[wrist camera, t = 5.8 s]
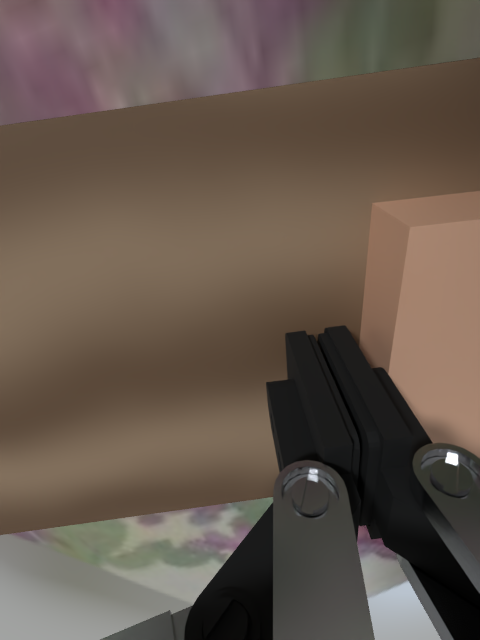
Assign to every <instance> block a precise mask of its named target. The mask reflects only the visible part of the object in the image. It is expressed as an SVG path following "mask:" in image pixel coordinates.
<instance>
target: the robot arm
mask: <svg viewBox="0 0 480 640" xmlns="http://www.w3.org/2000/svg"><path fill="white" fill-rule="evenodd" d="M285 343H286V361H287V378H288V380H280V381H273V382H266V390H267V401H268V409H269V417H270V423H271V429H272V435H273V440H274V446H275V451H276V456H277V462H278V467H279V472H280V473H279V475H278V477H277V478H276V480H275V484H274V490H273V503H272V504H271V506H270V507H269V508H268V509H267V511H266V512H265V513H264V514H263V516H262V517H261V518H260V519H259V521H258V522H257V523H256V525H255V526H254V527H253V528H252V530H251V531H250V532H249V533H248V535H247V536H246V537H245V538H244V540H243V541H242V542H241V543H240V545H239V546H238V547H237V549H236V550H235V551H234V552H233V554H232V555H231V556H230V557H229V559H228V560H227V561H226V562H225V564H224V565H223V566H222V568H221V569H220V570H219V571H218V573H217V574H216V575H215V576H214V578H213V579H212V580H211V581H210V583H209V584H208V585H207V587H206V588H205V589H204V590H203V592H202V593H201V594H200V595H199V597H198V598H197V600H196V601H195V603H194V605H193V606H191V607H188V608H186V609H183V610H181V611H179V612H176V613H174V614H171V611H170V610H169V611H167V612H165V613H163V614H160V615H158V616H155V617H153V618H150V619H148V620H146V621H143V622H141V623H139V624H136V625H134V626H131V627H129V628H127V629H124V630H122V631H120V632H117V633H115V634H112V635H110V636H108V637H105V638H103V639H101V640H375V638H374V633H373V628H372V622H371V617H370V611H369V606H368V600H367V595H366V590H365V584H364V579H363V573H362V568H361V562H360V557H359V552H358V546H357V537H358V527H359V525H360V526H363V525H366V526H367V529H368V532H369V535H370V537H371V539H377V538H382V540H383V543H384V545H385V546H386V547H387V548H389V549H390V550H392V551H394V552H395V553H396V556H397V559H398V561H399V564H400V566H401V568H402V570H403V571H404V573H405V575H406V577H407V579H408V580H409V582H410V584H411V586H412V588H413V589H414V591H415V593H416V595H417V597H418V598H419V600H420V602H421V604H422V605H423V607H424V609H425V611H426V613H427V614H428V616H429V618H430V620H431V621H432V623H433V625H434V627H435V629H436V631H437V632H438V634H439V636H440V638H441V639H442V640H480V458H478V457H477V456H476V455H475V454H473V453H471V452H470V451H468V450H466V449H464V448H462V447H459V446H456V445H453V444H447V443H433V442H432V441H431V439H430V438H429V436H428V435H427V433H426V432H425V430H424V429H423V427H422V425H421V424H420V422H419V421H418V419H417V418H416V416H415V415H414V413H413V412H412V410H411V409H410V407H409V406H408V404H407V402H406V401H405V399H404V398H403V396H402V395H401V393H400V392H399V390H398V389H397V387H396V386H395V384H394V383H393V381H392V379H391V378H390V376H389V375H388V373H387V372H386V371H385V370H384V369H383V368H381V367H378V368H371V366H370V364H369V363H368V361H367V360H366V358H365V356H364V355H363V353H362V351H361V350H360V348H359V346H358V345H357V343H356V341H355V340H354V338H353V336H352V335H351V333H350V331H349V330H348V328H347V327H346V326H345V325H342V326H334V327H327V328H325V329H324V333H320V334H318V343H317V341H316V339H315V337H314V335H307V333H306V331H305V330H304V331H296V332H289V333H286V334H285Z"/></svg>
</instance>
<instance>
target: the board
mask: <svg viewBox="0 0 480 640" xmlns="http://www.w3.org/2000/svg"><path fill="white" fill-rule="evenodd" d="M474 191H480V58H474V59H467V60H460V61H453V62H446V63H439V64H432V65H425V66H418V67H411V68H404V69H396V70H389V71H382V72H375V73H368V74H361V75H354V76H347V77H340V78H333V79H326V80H319V81H312V82H305V83H298V84H291V85H284V86H277V87H270V88H263V89H256V90H249V91H242V92H235V93H228V94H220V95H213V96H206V97H199V98H192V99H185V100H178V101H171V102H164V103H157V104H150V105H143V106H136V107H129V108H122V109H115V110H108V111H101V112H94V113H87V114H80V115H73V116H66V117H59V118H51V119H44V120H37V121H30V122H23V123H16V124H9V125H2V126H0V535H3V534H11V533H18V532H25V531H32V530H39V529H46V528H54V527H61V526H68V525H75V524H82V523H89V522H96V521H104V520H111V519H118V518H125V517H132V516H139V515H146V514H154V513H161V512H168V511H175V510H182V509H189V508H196V507H204V506H211V505H218V504H225V503H232V502H239V501H246V500H254V499H261V498H268V497H273V490H274V484H275V480H276V478H277V477H278V475H279V473H280V472H279V467H278V462H277V456H276V451H275V446H274V440H273V435H272V429H271V423H270V417H269V409H268V401H267V390H266V382H273V381H280V380H288V378H287V361H286V343H285V334H286V333H289V332H296V331H304V330H305V331H306V333H307V335H314V337H315V339H316V341H317V343H318V334H320V333H324V329H325V328H327V327H334V326H342V325H345V326H346V327H347V328H348V330H349V331H350V333H351V335H352V336H353V338H354V340H355V341H356V343H357V345H358V346H359V342H360V331H361V320H362V309H363V298H364V287H365V276H366V265H367V254H368V243H369V232H370V221H371V210H372V203H377V202H386V201H395V200H404V199H412V198H421V197H430V196H439V195H448V194H456V193H465V192H474Z"/></svg>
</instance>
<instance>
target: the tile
mask: <svg viewBox="0 0 480 640" xmlns="http://www.w3.org/2000/svg"><path fill="white" fill-rule="evenodd" d="M359 348H360V350H361V351H362V353H363V355H364V356H365V358H366V360H367V361H368V363H369V364H370V366H371V368H378V367H381V368H383V369H384V370H385V371H386V372H387V373H388V375H389V376H390V378H391V379H392V381H393V383H394V384H395V386H396V387H397V389H398V390H399V392H400V393H401V395H402V396H403V398H404V399H405V401H406V402H407V404H408V406H409V407H410V409H411V410H412V412H413V413H414V415H415V416H416V418H417V419H418V421H419V422H420V424H421V425H422V427H423V429H424V430H425V432H426V433H427V435H428V436H429V438H430V439H431V441H432V442H433V443H447V444H453V445H456V446H459V447H462V448H464V449H466V450H468V451H470V452H471V453H473V454H475V455H476V456H477V457H478V458H480V191H474V192H465V193H456V194H448V195H439V196H430V197H421V198H412V199H404V200H395V201H386V202H377V203H372V210H371V221H370V232H369V243H368V254H367V265H366V276H365V287H364V298H363V309H362V320H361V331H360V342H359Z"/></svg>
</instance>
